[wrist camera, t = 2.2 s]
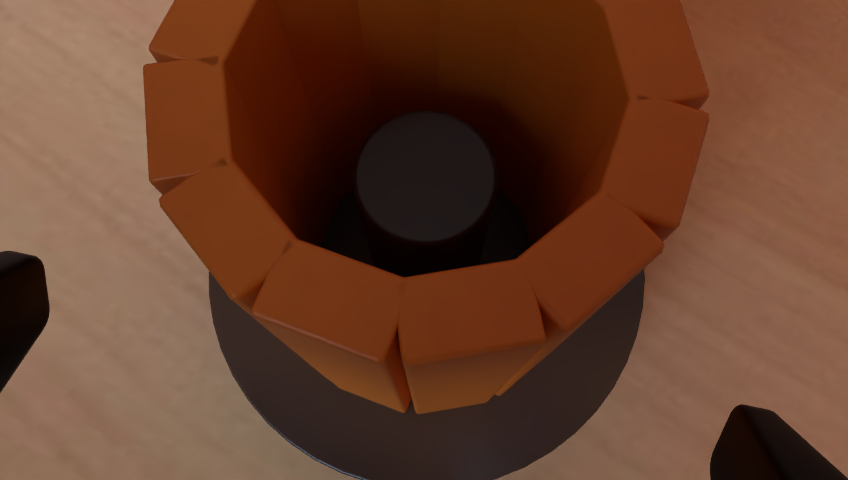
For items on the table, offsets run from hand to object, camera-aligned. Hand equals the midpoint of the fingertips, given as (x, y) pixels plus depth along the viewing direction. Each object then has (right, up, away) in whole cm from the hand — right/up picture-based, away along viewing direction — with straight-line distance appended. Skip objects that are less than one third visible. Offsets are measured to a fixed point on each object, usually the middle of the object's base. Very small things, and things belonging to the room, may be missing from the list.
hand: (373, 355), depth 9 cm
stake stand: (+1, 0, +11) cm, 11 cm away
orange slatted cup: (+1, +1, +7) cm, 7 cm away
